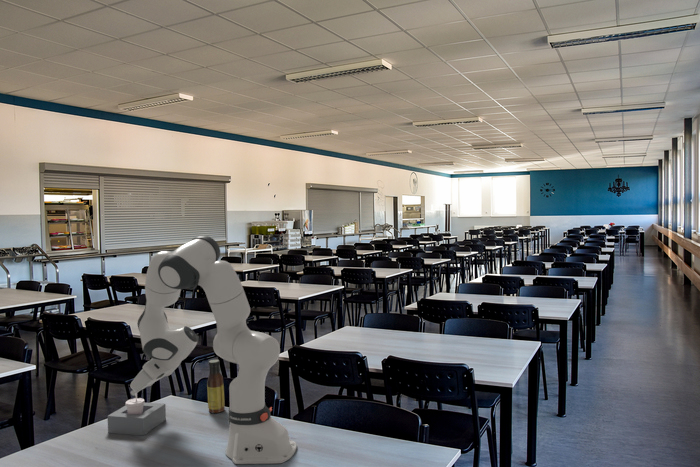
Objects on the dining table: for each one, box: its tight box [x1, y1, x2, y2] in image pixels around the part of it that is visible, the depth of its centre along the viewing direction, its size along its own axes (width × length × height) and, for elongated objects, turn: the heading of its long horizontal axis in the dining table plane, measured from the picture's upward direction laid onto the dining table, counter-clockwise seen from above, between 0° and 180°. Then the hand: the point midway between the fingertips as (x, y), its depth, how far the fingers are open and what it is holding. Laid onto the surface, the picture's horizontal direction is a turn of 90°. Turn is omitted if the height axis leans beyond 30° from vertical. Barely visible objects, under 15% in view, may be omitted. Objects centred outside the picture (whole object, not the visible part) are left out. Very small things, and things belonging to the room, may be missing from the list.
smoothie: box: [125, 393, 146, 415], centre depth 183 cm, size 6×6×14 cm
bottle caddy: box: [107, 402, 167, 436], centre depth 185 cm, size 14×14×6 cm
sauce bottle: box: [206, 359, 226, 414], centre depth 198 cm, size 6×6×20 cm
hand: (140, 389), depth 185 cm, fingers open, 8 cm apart
